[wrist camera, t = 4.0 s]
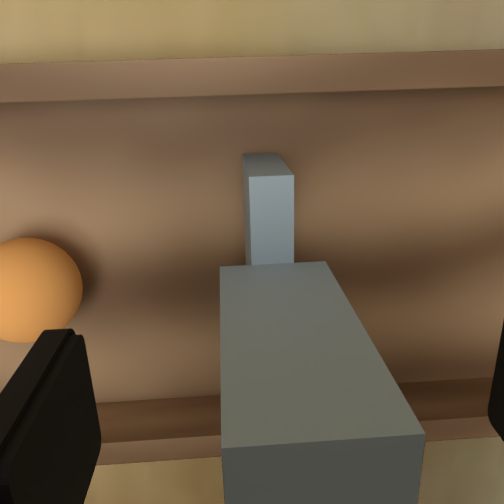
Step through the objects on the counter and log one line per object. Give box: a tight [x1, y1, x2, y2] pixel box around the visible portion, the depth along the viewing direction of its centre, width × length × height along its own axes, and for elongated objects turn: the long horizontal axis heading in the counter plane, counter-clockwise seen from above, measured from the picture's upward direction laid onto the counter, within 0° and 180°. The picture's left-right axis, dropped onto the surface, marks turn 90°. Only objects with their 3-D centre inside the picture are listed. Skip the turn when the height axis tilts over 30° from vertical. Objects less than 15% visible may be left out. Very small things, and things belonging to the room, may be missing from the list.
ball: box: [0, 238, 83, 343], centre depth 16 cm, size 4×4×4 cm
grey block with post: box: [220, 153, 426, 504], centre depth 13 cm, size 8×3×11 cm, turn 2°
